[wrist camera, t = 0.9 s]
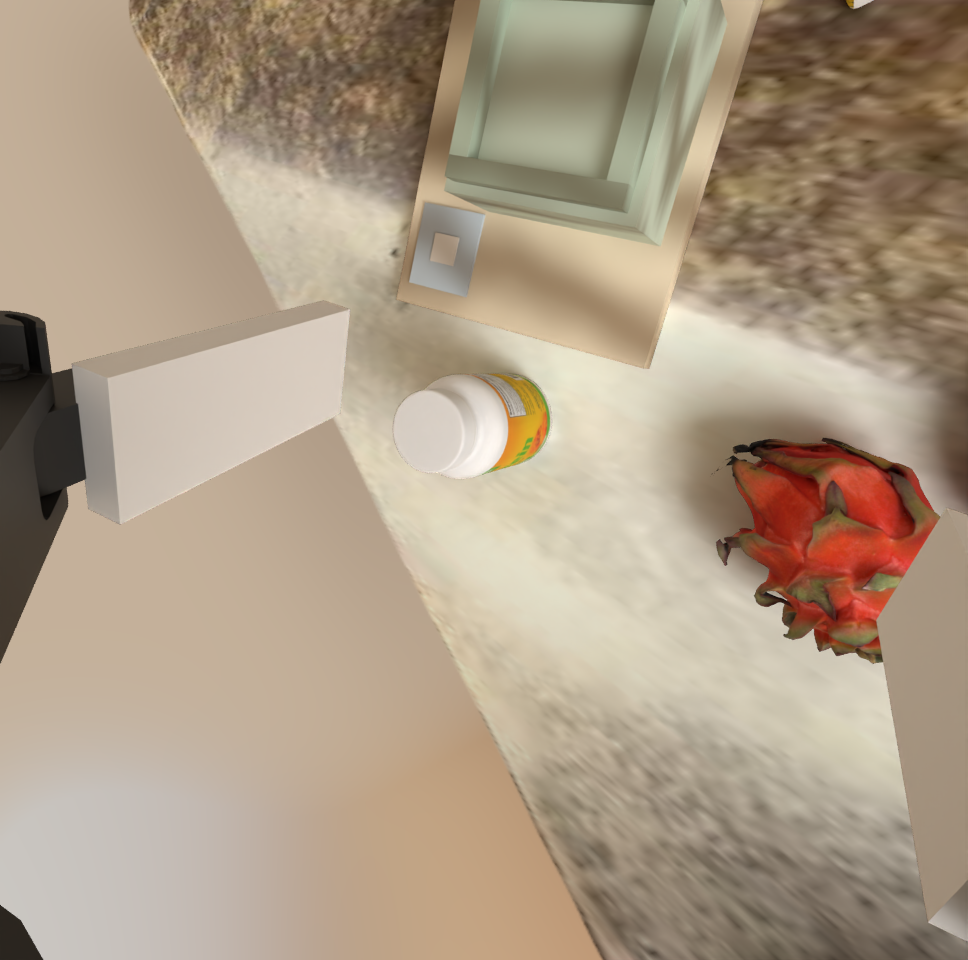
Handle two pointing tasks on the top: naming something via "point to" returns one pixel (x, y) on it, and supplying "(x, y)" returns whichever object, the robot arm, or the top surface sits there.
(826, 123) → the top surface
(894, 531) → the dragon fruit
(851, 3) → the medicine bottle
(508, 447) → the supplement bottle
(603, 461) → the top surface
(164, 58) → the top surface
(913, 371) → the top surface
